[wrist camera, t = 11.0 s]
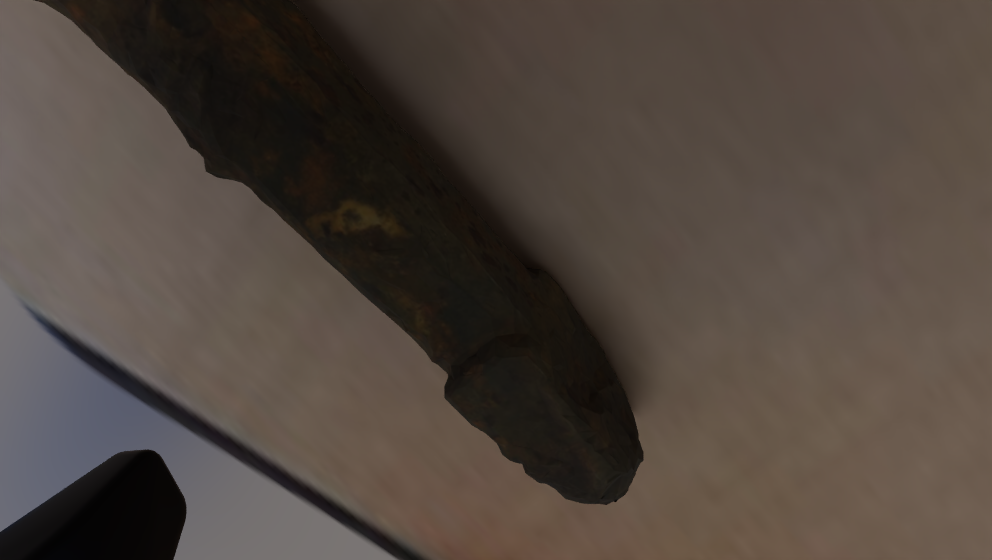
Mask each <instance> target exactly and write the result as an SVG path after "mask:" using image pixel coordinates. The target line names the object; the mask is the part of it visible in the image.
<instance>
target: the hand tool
mask: <svg viewBox="0 0 992 560" xmlns="http://www.w3.org/2000/svg"><path fill="white" fill-rule="evenodd" d="M35 1H39V2H43V3H45V4H47V5H48V6H50V7H52V8H53V9H55V10H56V11H58V12H60V13H61V14H63V15H64V16H66V17H67V18H69V19H70V20H72V21H73V22H74V23H75V24H76V25H77V26H78V27H79V28H80V29H81V30H82V31H83V32H84V33H85V34H86V35H87V36H89V37H90V38H91V39H92V41H93V42H94V43H95V44H96V45H97V46H98V47H99V48H100V49H101V50H102V51H103V52H104V53H105V54H107V55H108V56H109V57H110V58H111V59H112V60H113V61H115V62H116V63H117V64H118V65H119V66H120V67H121V68H122V69H123V70H124V71H125V72H126V73H127V74H128V75H130V76H131V77H133V78H134V79H135V80H136V81H137V82H139V83H140V84H141V85H142V86H143V87H144V88H145V89H146V90H147V91H148V92H149V93H150V94H151V95H152V96H153V97H154V98H155V99H156V100H157V101H158V102H159V103H160V104H161V105H162V106H163V107H164V108H165V109H166V110H167V112H168V113H169V115H170V116H171V118H172V119H173V121H174V122H175V124H176V125H177V126H178V128H179V129H180V131H181V132H182V134H183V135H184V137H185V138H186V140H187V142H188V144H189V146H190V147H191V148H193V149H195V150H196V151H198V152H199V153H200V154H201V156H202V157H203V158H204V163H205V169H206V172H208V173H210V174H212V175H214V176H216V177H218V178H223V179H229V180H234V181H238V182H242V183H243V184H245V185H246V186H248V187H249V188H251V190H252V191H253V192H254V193H255V194H256V195H257V196H258V197H259V199H260V200H261V201H263V202H264V203H265V204H266V205H268V206H269V207H270V208H272V209H273V210H274V211H275V212H276V213H277V214H278V215H279V216H280V217H281V218H282V219H283V220H284V221H285V222H286V223H287V224H288V225H290V226H291V227H292V228H293V229H294V230H295V231H296V232H297V233H299V234H300V235H301V236H302V237H303V238H304V239H305V240H306V241H307V242H309V243H310V244H311V245H312V246H313V247H314V248H315V249H316V251H317V252H318V253H319V254H320V255H321V256H322V257H323V258H324V259H325V260H326V261H327V262H329V263H330V264H331V265H332V266H333V267H334V268H335V269H337V270H338V271H339V272H340V273H341V274H342V275H343V276H344V277H345V278H346V279H347V280H348V281H349V282H350V283H351V284H352V285H353V286H355V287H356V288H357V289H358V290H359V291H360V292H361V293H362V294H363V295H364V296H365V297H366V298H368V299H369V300H370V301H371V302H372V303H373V304H374V305H375V306H377V307H378V308H379V309H380V310H381V311H382V312H383V313H385V314H386V315H387V316H388V317H389V318H391V319H392V320H393V321H394V322H395V323H396V324H397V325H399V326H400V327H401V328H402V329H403V330H404V331H405V332H406V333H407V334H409V335H410V336H411V337H412V338H413V339H414V340H415V341H416V342H417V343H418V345H419V346H420V347H421V348H422V349H423V350H424V351H425V352H426V353H427V355H428V356H429V358H430V359H431V361H432V362H434V363H436V364H438V365H439V366H440V367H441V368H442V369H443V370H444V371H446V372H447V373H448V379H447V382H446V384H445V399H446V400H447V401H448V402H449V403H450V404H451V405H452V406H453V407H454V408H455V409H456V410H457V411H458V412H459V413H460V414H461V415H462V416H463V417H464V418H465V419H466V420H467V421H468V422H469V423H470V424H471V425H472V426H474V427H476V428H478V429H479V430H481V431H483V432H484V433H486V434H487V435H488V436H489V437H490V438H492V439H493V440H494V441H495V442H496V443H497V444H498V446H499V448H500V450H501V453H502V455H504V456H505V457H506V458H507V459H509V460H510V461H513V462H515V463H521V464H523V467H524V470H525V473H526V474H527V475H529V476H530V477H532V478H533V479H535V480H536V481H537V482H539V483H545V484H548V485H550V486H551V487H553V488H554V489H556V490H557V491H558V492H559V493H560V494H561V495H562V496H563V497H564V498H565V499H568V500H572V501H576V502H579V503H585V504H604V505H607V504H609V503H611V502H613V501H614V502H616V501H617V500H618V499H619V498H621V497H622V496H624V495H625V494H626V493H627V491H628V488H629V486H630V484H631V483H632V480H633V478H634V476H635V474H636V471H637V469H638V467H639V465H640V463H641V462H642V461H643V450H642V447H641V444H640V441H639V439H638V430H637V426H636V422H635V418H634V415H633V412H632V410H631V407H630V405H629V402H628V399H627V396H626V394H625V391H624V390H623V388H622V386H621V385H620V383H619V382H618V380H617V378H616V375H615V373H614V371H613V369H612V368H611V366H610V365H609V363H608V361H607V360H606V358H605V355H604V352H603V350H602V349H601V347H600V346H599V344H598V343H597V341H596V340H595V338H593V337H592V336H591V335H590V334H589V332H588V331H587V329H586V328H585V326H584V325H583V323H582V322H581V320H580V319H579V316H578V314H577V313H576V311H575V310H574V308H573V307H572V305H571V304H570V302H569V301H568V299H567V298H566V296H565V295H564V293H563V291H562V290H561V288H560V287H559V286H558V284H557V283H556V282H555V281H554V280H553V279H552V278H551V277H550V276H549V275H548V274H547V273H546V272H544V271H542V270H540V269H526V268H525V267H524V265H523V264H522V263H521V262H520V261H519V260H518V258H517V257H516V256H515V255H514V254H513V253H512V252H511V251H510V250H509V249H508V248H507V247H506V246H505V245H504V244H503V243H502V242H501V240H500V239H499V238H498V237H497V236H496V235H495V233H494V232H493V231H492V230H491V229H490V228H489V226H488V225H487V224H486V223H485V222H484V221H483V219H482V218H481V217H480V216H479V214H478V213H477V212H476V211H475V210H474V209H473V207H472V206H471V205H470V204H469V203H468V202H467V201H466V200H465V199H464V197H463V196H462V195H461V194H460V193H459V192H458V191H457V190H456V189H455V188H454V187H453V186H452V185H451V184H450V183H449V182H448V180H447V179H446V178H445V177H444V176H443V174H442V173H441V171H440V170H439V168H438V166H437V165H436V163H435V162H434V161H433V160H432V159H431V157H430V156H429V155H428V154H427V153H426V151H425V150H424V149H423V148H422V147H421V146H420V145H419V144H418V142H417V141H415V140H414V139H413V138H412V137H411V136H409V135H408V134H407V133H406V132H405V131H404V130H402V129H401V128H400V127H399V126H398V125H397V124H396V123H395V122H394V121H393V120H392V119H391V118H390V116H389V115H388V114H387V113H386V112H385V111H384V109H383V108H382V107H381V106H380V105H379V104H378V103H377V101H376V100H375V99H374V98H373V97H372V96H371V95H370V94H369V93H368V92H367V91H366V90H365V88H364V87H363V86H362V85H361V84H360V83H359V82H358V80H357V79H356V78H355V77H354V75H353V74H352V73H351V71H350V70H349V69H348V67H347V66H346V65H345V64H344V62H343V61H342V60H340V59H339V57H338V56H337V55H336V54H335V53H334V51H333V50H332V49H331V48H330V47H329V46H328V44H327V43H326V42H325V41H324V40H323V39H322V38H321V37H320V35H319V34H318V33H317V32H316V30H315V29H314V28H313V27H312V25H311V24H310V23H309V21H308V20H307V19H306V18H305V16H304V15H303V14H302V13H301V11H300V10H299V9H298V7H297V6H295V5H294V4H293V3H291V2H290V1H289V0H35Z"/></svg>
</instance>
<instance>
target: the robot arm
mask: <svg viewBox="0 0 992 560" xmlns="http://www.w3.org/2000/svg"><path fill="white" fill-rule="evenodd" d="M185 519H186V502H185V498H184V496H183V494H182V492H181V491H180V489H179V487H178V485H177V484H176V482H175V480H174V478H173V477H172V475H171V473H170V471H169V469H168V468H167V466H166V464H165V463H164V461H163V459H162V457H161V456H160V455H159V454H157V453H156V452H155V451H152V450H134V451H124V452H120V453H117V454H115V455H114V456H112V457H111V458H109V459H108V460H107V461H105V462H103V463H102V464H100V465H99V466H98V467H96V468H94V469H93V470H91V471H90V472H88V473H87V474H86V475H84V476H83V477H81V478H80V479H78V480H77V481H75V482H74V483H72V484H71V485H69V486H68V487H67V488H65V489H64V490H62V491H60V492H59V493H57V494H56V495H54V496H53V497H51V498H50V499H49V500H47V501H46V502H44V503H43V504H41V505H40V506H38V507H37V508H35V509H34V510H32V511H31V512H29V513H28V514H26V515H25V516H23V517H22V518H20V519H19V520H17V521H16V522H14V523H13V524H11V525H10V526H8V527H7V528H6V529H4V530H3V531H1V532H0V560H173V559H174V556H175V553H176V549H177V546H178V543H179V539H180V536H181V533H182V530H183V526H184V523H185Z"/></svg>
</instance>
